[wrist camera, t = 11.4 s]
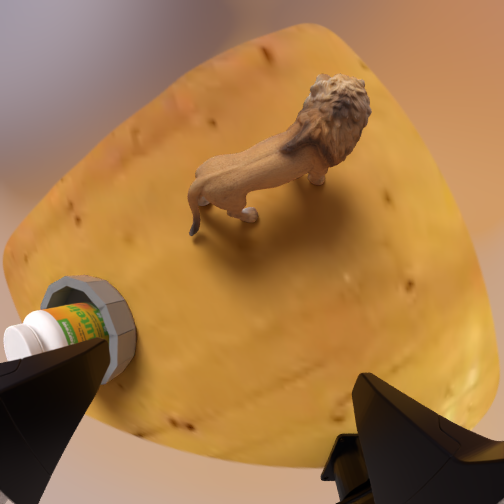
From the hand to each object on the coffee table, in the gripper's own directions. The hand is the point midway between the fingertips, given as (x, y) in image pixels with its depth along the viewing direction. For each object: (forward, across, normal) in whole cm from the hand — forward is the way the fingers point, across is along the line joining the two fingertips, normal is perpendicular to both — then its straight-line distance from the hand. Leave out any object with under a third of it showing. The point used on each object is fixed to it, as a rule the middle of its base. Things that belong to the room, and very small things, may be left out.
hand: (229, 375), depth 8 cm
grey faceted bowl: (+12, +14, +7) cm, 20 cm away
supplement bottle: (+12, +14, +7) cm, 19 cm away
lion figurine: (+15, -1, -7) cm, 16 cm away
